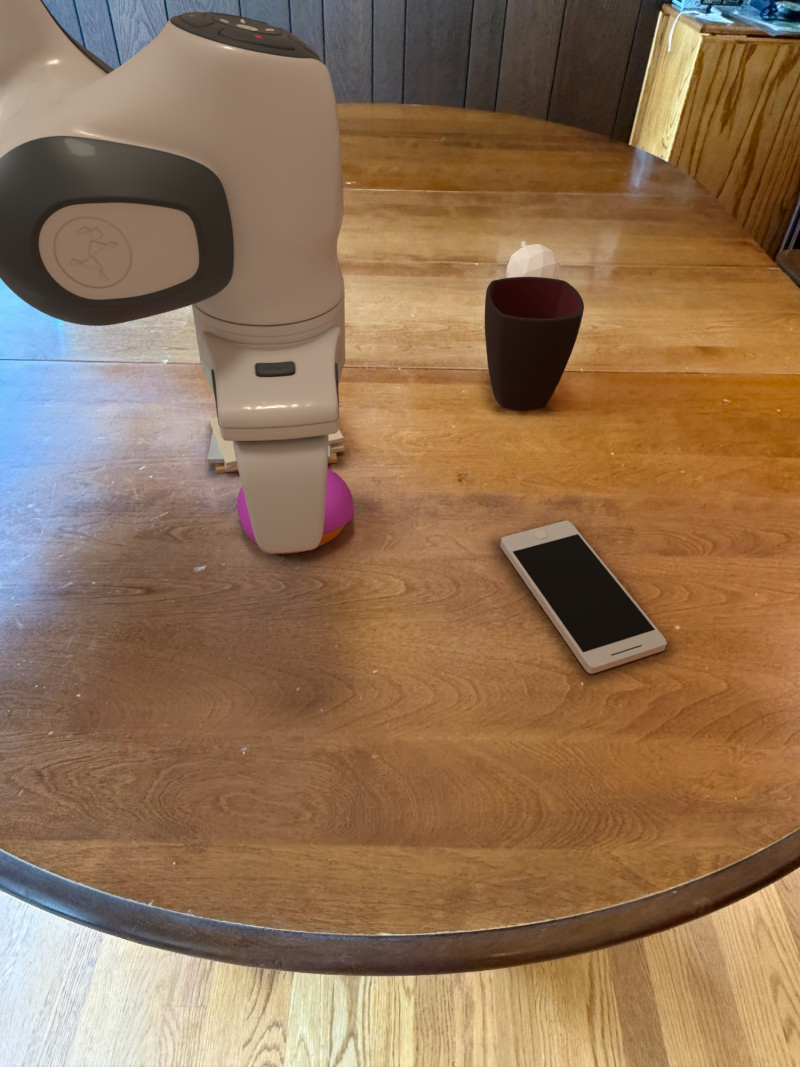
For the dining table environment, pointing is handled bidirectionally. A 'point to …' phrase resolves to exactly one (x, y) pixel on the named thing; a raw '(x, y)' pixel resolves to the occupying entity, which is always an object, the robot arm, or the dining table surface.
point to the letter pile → (225, 454)
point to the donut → (335, 509)
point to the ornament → (533, 262)
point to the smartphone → (582, 597)
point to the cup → (529, 338)
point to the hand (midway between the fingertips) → (286, 510)
